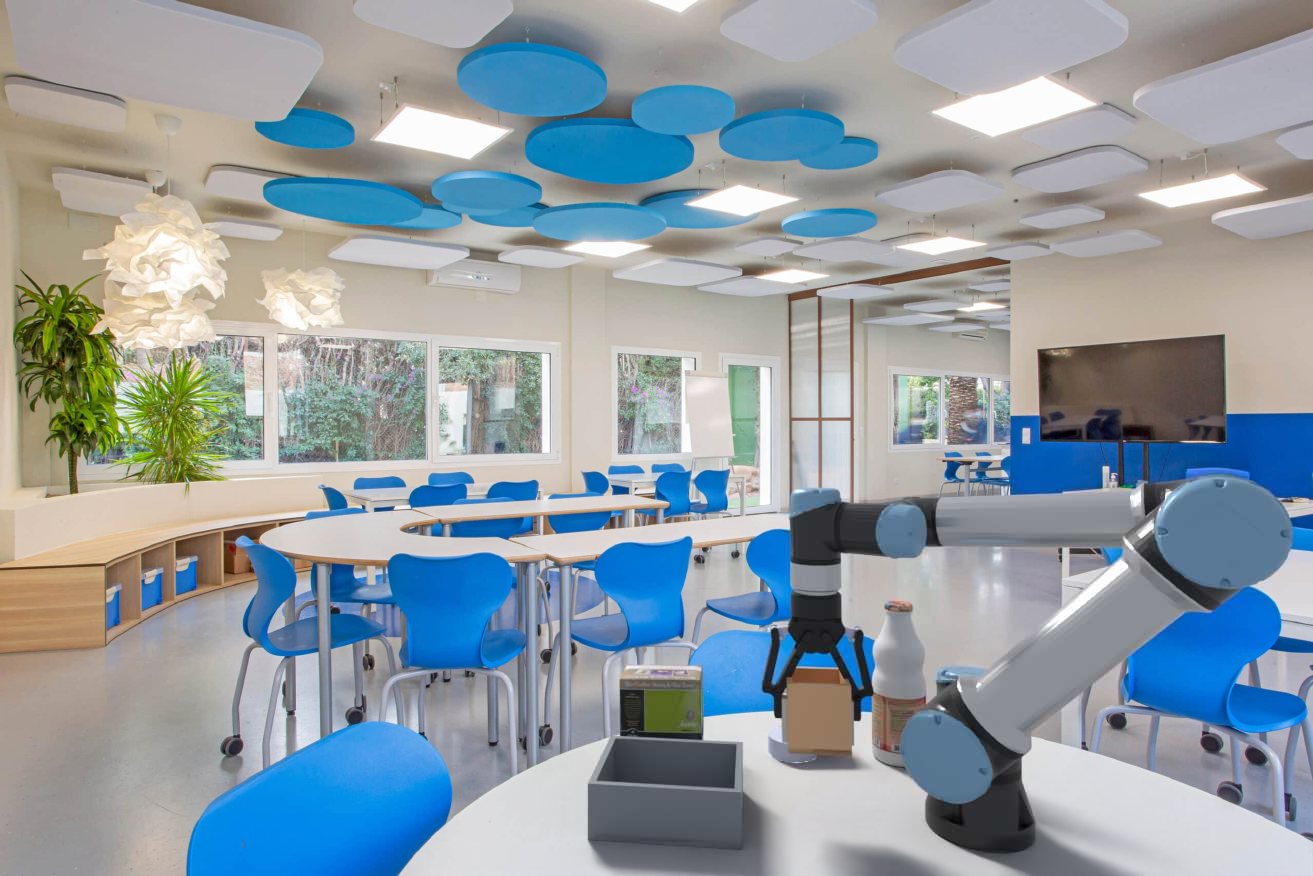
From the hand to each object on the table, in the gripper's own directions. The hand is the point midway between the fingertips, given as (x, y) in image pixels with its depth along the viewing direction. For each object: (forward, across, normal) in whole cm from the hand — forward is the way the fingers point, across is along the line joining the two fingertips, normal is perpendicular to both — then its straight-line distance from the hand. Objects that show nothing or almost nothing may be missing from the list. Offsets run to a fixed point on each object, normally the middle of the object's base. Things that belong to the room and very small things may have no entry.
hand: (817, 740), depth 113 cm
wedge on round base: (+12, 0, -26) cm, 29 cm away
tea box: (+12, +26, -24) cm, 38 cm away
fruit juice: (+13, -17, -26) cm, 34 cm away
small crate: (0, 0, 0) cm, 0 cm away
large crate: (+12, +22, 0) cm, 25 cm away
